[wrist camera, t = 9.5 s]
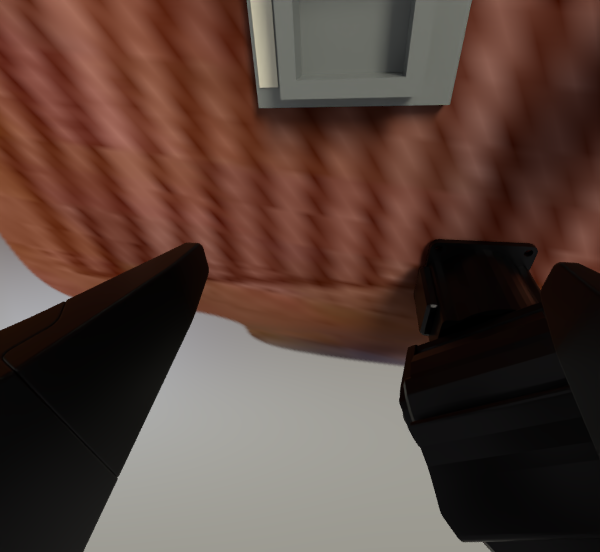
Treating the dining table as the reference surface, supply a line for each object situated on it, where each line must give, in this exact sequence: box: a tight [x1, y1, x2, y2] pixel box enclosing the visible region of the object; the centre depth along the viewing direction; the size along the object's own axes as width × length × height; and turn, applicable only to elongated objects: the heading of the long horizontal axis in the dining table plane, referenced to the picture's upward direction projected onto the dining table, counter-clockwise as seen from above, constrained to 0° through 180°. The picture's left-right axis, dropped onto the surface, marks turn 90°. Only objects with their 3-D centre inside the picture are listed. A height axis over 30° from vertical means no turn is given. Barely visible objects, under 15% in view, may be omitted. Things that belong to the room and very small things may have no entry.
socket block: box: [247, 0, 472, 108], centre depth 14 cm, size 10×8×3 cm
